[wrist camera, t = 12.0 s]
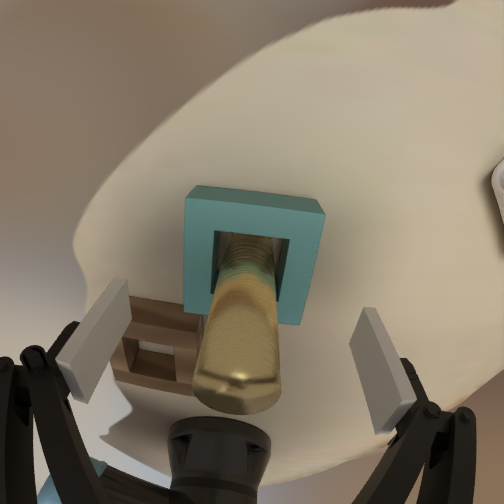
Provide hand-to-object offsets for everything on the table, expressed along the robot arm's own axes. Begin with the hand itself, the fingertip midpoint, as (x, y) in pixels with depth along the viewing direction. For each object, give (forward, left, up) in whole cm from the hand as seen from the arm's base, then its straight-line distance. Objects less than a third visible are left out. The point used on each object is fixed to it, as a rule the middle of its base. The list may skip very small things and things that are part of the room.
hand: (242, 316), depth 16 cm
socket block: (0, 0, -9) cm, 9 cm away
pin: (0, 0, -9) cm, 9 cm away
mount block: (-11, +8, -9) cm, 16 cm away
